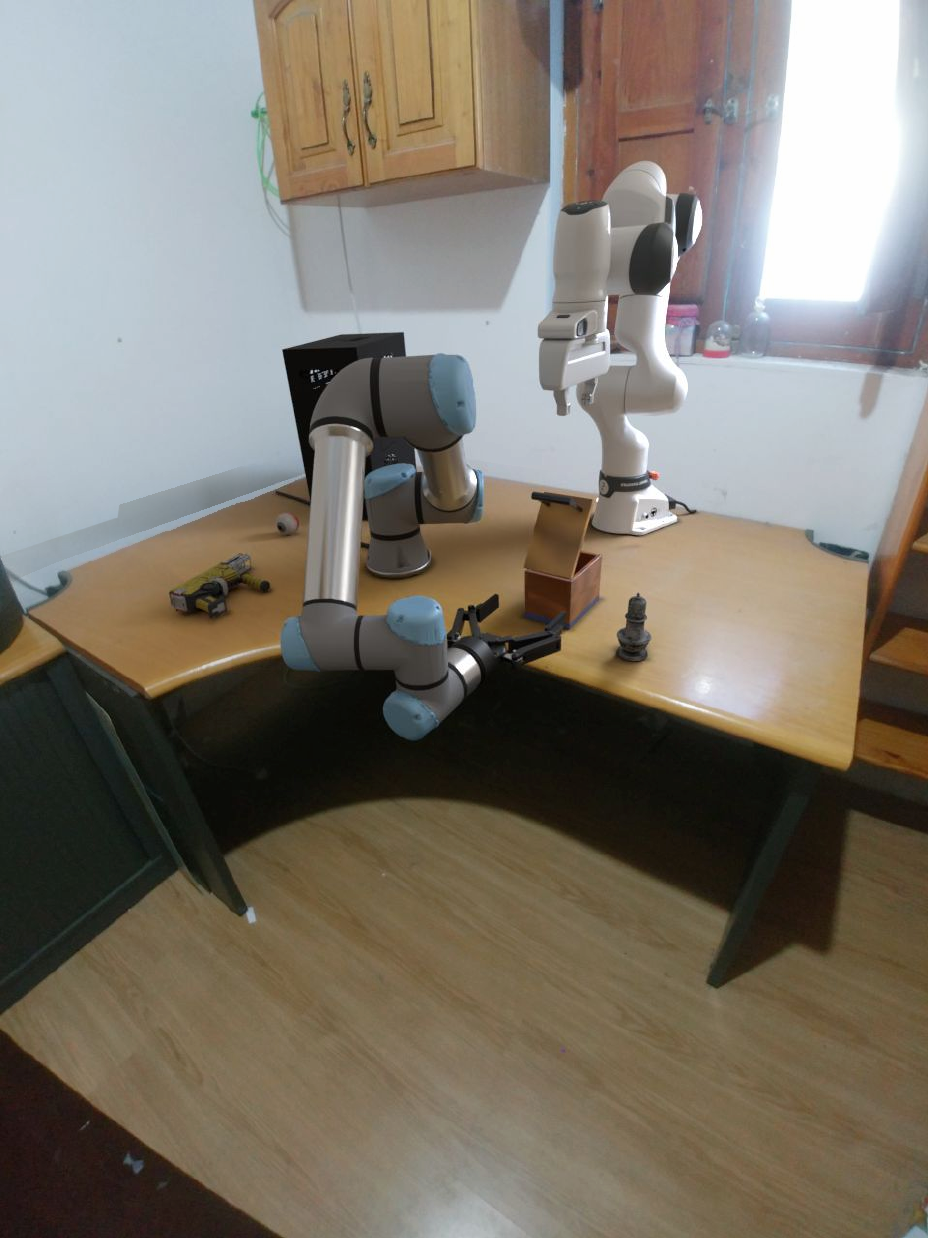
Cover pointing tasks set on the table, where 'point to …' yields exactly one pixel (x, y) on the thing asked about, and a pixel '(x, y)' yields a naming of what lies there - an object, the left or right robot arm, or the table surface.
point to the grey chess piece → (634, 631)
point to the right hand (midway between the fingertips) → (575, 409)
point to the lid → (558, 533)
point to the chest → (563, 591)
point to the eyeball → (287, 523)
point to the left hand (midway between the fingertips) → (529, 609)
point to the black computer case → (307, 392)
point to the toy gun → (214, 587)
